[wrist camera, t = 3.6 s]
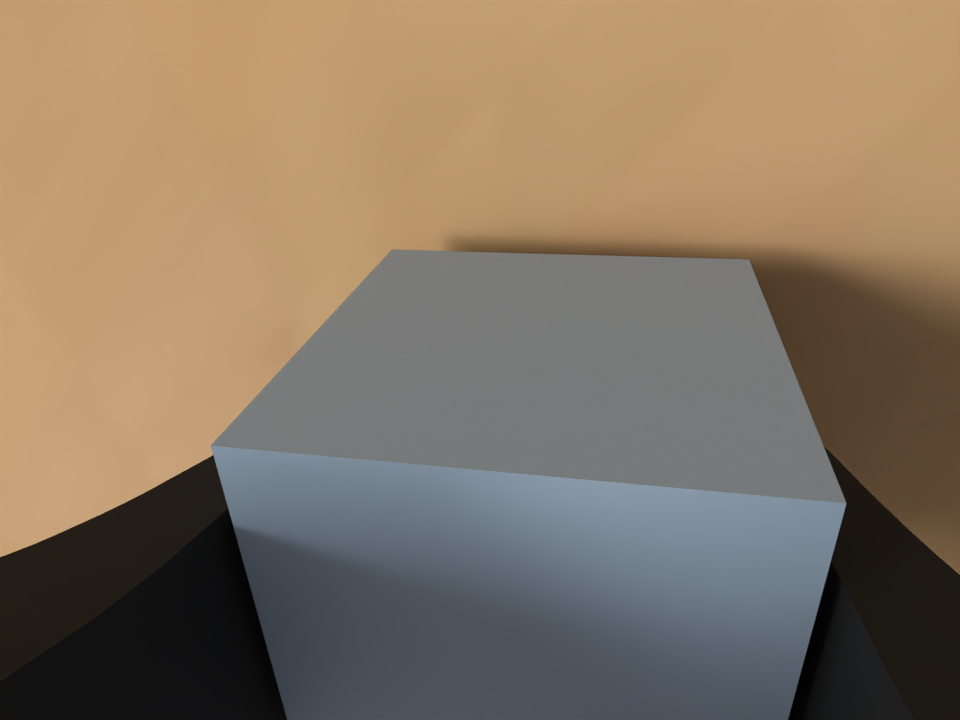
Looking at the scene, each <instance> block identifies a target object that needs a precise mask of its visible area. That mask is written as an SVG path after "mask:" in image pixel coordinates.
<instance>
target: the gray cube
mask: <svg viewBox="0 0 960 720" xmlns="http://www.w3.org/2000/svg"><path fill="white" fill-rule="evenodd" d="M211 448H212V452H213V455H214V459H215V463H216V466H217V470H218V473H219V477H220V480H221V484H222V488H223V491H224V495H225V498H226V502H227V506H228V509H229V513H230V516H231V520H232V523H233V527H234V531H235V534H236V538H237V541H238V545H239V549H240V552H241V556H242V559H243V563H244V566H245V570H246V574H247V577H248V581H249V584H250V588H251V592H252V595H253V599H254V602H255V606H256V609H257V613H258V617H259V620H260V624H261V627H262V631H263V635H264V638H265V642H266V645H267V649H268V652H269V656H270V660H271V663H272V667H273V670H274V674H275V678H276V681H277V685H278V688H279V692H280V695H281V699H282V703H283V706H284V710H285V713H286V717H287V720H788V718H789V714H790V710H791V707H792V703H793V699H794V696H795V692H796V688H797V685H798V681H799V677H800V673H801V670H802V666H803V662H804V659H805V655H806V651H807V648H808V644H809V640H810V636H811V633H812V629H813V625H814V622H815V618H816V614H817V611H818V607H819V603H820V599H821V596H822V592H823V588H824V585H825V581H826V577H827V574H828V570H829V566H830V562H831V559H832V555H833V551H834V548H835V544H836V540H837V537H838V533H839V529H840V526H841V522H842V518H843V514H844V511H845V507H846V501H845V498H844V496H843V493H842V491H841V488H840V486H839V483H838V481H837V478H836V476H835V473H834V471H833V468H832V466H831V463H830V461H829V458H828V456H827V453H826V451H825V448H824V446H823V443H822V441H821V438H820V436H819V433H818V431H817V428H816V426H815V423H814V421H813V418H812V416H811V413H810V411H809V408H808V406H807V403H806V401H805V398H804V396H803V393H802V391H801V388H800V386H799V383H798V381H797V378H796V376H795V373H794V371H793V368H792V366H791V363H790V361H789V358H788V356H787V353H786V351H785V348H784V346H783V343H782V341H781V338H780V336H779V333H778V331H777V328H776V326H775V323H774V321H773V318H772V316H771V313H770V311H769V308H768V306H767V303H766V301H765V298H764V296H763V293H762V291H761V288H760V286H759V283H758V281H757V278H756V276H755V273H754V271H753V268H752V266H751V263H750V261H749V259H715V258H679V257H643V256H606V255H570V254H533V253H497V252H461V251H424V250H391V251H390V252H389V253H388V255H387V256H386V257H385V258H384V259H383V260H382V261H381V262H380V263H379V264H378V265H377V266H376V268H375V269H374V270H373V271H372V272H371V273H370V274H369V275H368V276H367V277H366V278H365V279H364V280H363V282H362V283H361V284H360V285H359V286H358V287H357V288H356V289H355V290H354V291H353V292H352V293H351V295H350V296H349V297H348V298H347V299H346V300H345V301H344V302H343V303H342V304H341V305H340V306H339V308H338V309H337V310H336V311H335V312H334V313H333V314H332V315H331V316H330V317H329V318H328V319H327V321H326V322H325V323H324V324H323V325H322V326H321V327H320V328H319V329H318V330H317V331H316V332H315V333H314V335H313V336H312V337H311V338H310V339H309V340H308V341H307V342H306V343H305V344H304V345H303V346H302V348H301V349H300V350H299V351H298V352H297V353H296V354H295V355H294V356H293V357H292V358H291V359H290V361H289V362H288V363H287V364H286V365H285V366H284V367H283V368H282V369H281V370H280V371H279V372H278V374H277V375H276V376H275V377H274V378H273V379H272V380H271V381H270V382H269V383H268V384H267V385H266V386H265V388H264V389H263V390H262V391H261V392H260V393H259V394H258V395H257V396H256V397H255V398H254V399H253V401H252V402H251V403H250V404H249V405H248V406H247V407H246V408H245V409H244V410H243V411H242V412H241V414H240V415H239V416H238V417H237V418H236V419H235V420H234V421H233V422H232V423H231V424H230V425H229V427H228V428H227V429H226V430H225V431H224V432H223V433H222V434H221V435H220V436H219V437H218V438H217V440H216V441H215V442H214V443H213V444H212V445H211Z"/></svg>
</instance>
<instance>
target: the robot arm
mask: <svg viewBox="0 0 960 720" xmlns="http://www.w3.org/2000/svg"><path fill="white" fill-rule="evenodd" d="M823 446H824V445H823ZM824 448H825V446H824ZM825 451H826V453H827V456H828V458H829V461H830V463H831V466H832V468H833V471H834V473H835V476H836V478H837V481H838V483H839V486H840V488H841V491H842V493H843V496H844V498H845V501H846V507H845V511H844V514H843V518H842V522H841V526H840V529H839V533H838V537H837V540H836V544H835V548H834V551H833V555H832V559H831V562H830V566H829V570H828V574H827V577H826V581H825V585H824V588H823V592H822V596H821V599H820V603H819V607H818V611H817V614H816V618H815V622H814V625H813V629H812V633H811V636H810V640H809V644H808V648H807V651H806V655H805V659H804V662H803V666H802V670H801V673H800V677H799V681H798V685H797V688H796V692H795V696H794V699H793V703H792V707H791V710H790V714H789V718H788V720H960V575H959V574H958V573H957V572H956V571H954V570H953V569H952V568H951V567H950V566H949V565H947V564H946V563H945V562H944V561H943V560H942V559H940V558H939V557H938V556H937V555H936V554H935V553H934V552H932V551H931V550H930V549H929V548H928V547H927V546H926V545H925V544H924V543H923V542H921V541H920V540H919V539H918V538H917V537H916V536H915V535H914V534H913V533H912V532H911V531H909V530H908V529H907V528H906V527H905V526H904V525H903V524H902V523H901V522H900V521H899V520H898V519H897V518H896V517H895V516H894V515H892V514H891V513H890V512H889V511H888V510H887V509H886V508H885V507H884V506H883V505H882V504H881V503H880V502H879V501H878V500H877V499H876V498H875V497H874V496H873V495H872V494H871V493H870V492H869V491H868V490H867V489H866V488H865V487H864V486H863V485H862V484H861V483H860V482H859V481H858V480H857V479H856V478H855V477H854V476H853V475H852V474H851V473H850V472H849V471H848V470H847V469H846V468H845V467H844V466H843V465H842V464H841V463H840V462H839V461H838V460H837V459H836V458H835V457H834V456H833V455H832V454H831V453H830V452H829V451H828V450H827V449H826V448H825ZM0 720H287V717H286V713H285V710H284V706H283V703H282V699H281V695H280V692H279V688H278V685H277V681H276V678H275V674H274V670H273V667H272V663H271V660H270V656H269V652H268V649H267V645H266V642H265V638H264V635H263V631H262V627H261V624H260V620H259V617H258V613H257V609H256V606H255V602H254V599H253V595H252V592H251V588H250V584H249V581H248V577H247V574H246V570H245V566H244V563H243V559H242V556H241V552H240V549H239V545H238V541H237V538H236V534H235V531H234V527H233V523H232V520H231V516H230V513H229V509H228V506H227V502H226V498H225V495H224V491H223V488H222V484H221V480H220V477H219V473H218V470H217V466H216V463H215V459H214V455H213V456H211V457H209V458H208V459H206V460H204V461H202V462H200V463H199V464H197V465H195V466H193V467H191V468H189V469H188V470H186V471H184V472H182V473H180V474H178V475H177V476H175V477H173V478H171V479H169V480H167V481H166V482H164V483H162V484H160V485H158V486H156V487H155V488H153V489H151V490H149V491H147V492H145V493H144V494H142V495H140V496H138V497H136V498H134V499H132V500H130V501H128V502H126V503H124V504H122V505H120V506H118V507H116V508H114V509H112V510H109V511H107V512H105V513H103V514H101V515H99V516H97V517H95V518H92V519H90V520H88V521H86V522H84V523H81V524H79V525H77V526H75V527H73V528H70V529H68V530H66V531H64V532H61V533H59V534H57V535H55V536H53V537H50V538H48V539H46V540H43V541H41V542H38V543H36V544H34V545H31V546H29V547H26V548H23V549H21V550H18V551H16V552H13V553H11V554H8V555H5V556H3V557H0Z"/></svg>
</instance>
